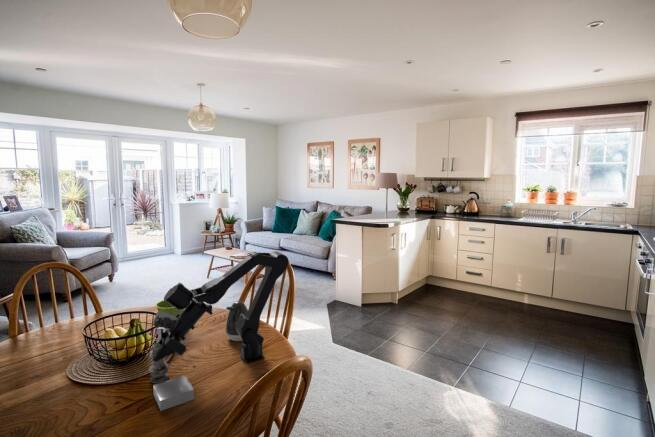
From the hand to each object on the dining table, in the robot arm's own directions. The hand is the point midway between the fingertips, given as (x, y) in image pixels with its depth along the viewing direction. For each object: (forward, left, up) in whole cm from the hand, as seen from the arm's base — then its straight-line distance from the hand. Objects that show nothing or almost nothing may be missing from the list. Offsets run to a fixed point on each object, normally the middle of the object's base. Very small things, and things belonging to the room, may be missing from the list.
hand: (153, 357), depth 112 cm
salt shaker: (-1, 0, -7) cm, 7 cm away
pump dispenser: (-33, -13, -8) cm, 37 cm away
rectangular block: (-3, +12, -8) cm, 15 cm away
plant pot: (-14, -38, -8) cm, 41 cm away
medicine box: (-9, -22, -8) cm, 25 cm away
